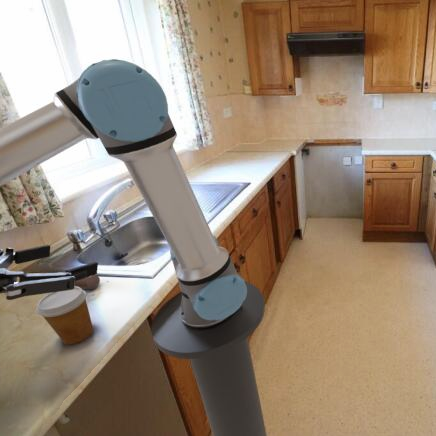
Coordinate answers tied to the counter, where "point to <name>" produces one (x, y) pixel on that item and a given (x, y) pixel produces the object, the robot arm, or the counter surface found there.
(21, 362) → the counter surface
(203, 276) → the robot arm
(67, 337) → the disposable coffee cup
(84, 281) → the brown rounded cylinder
